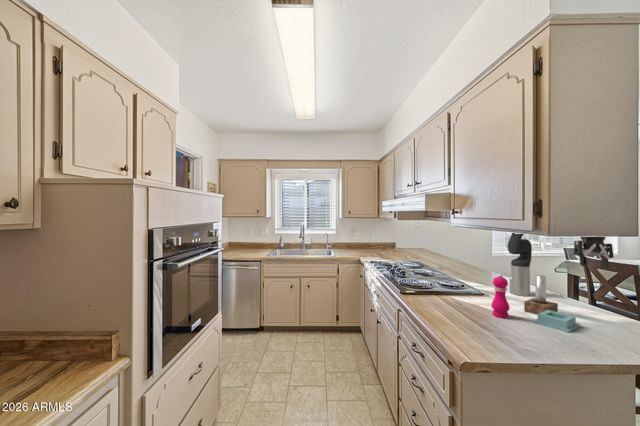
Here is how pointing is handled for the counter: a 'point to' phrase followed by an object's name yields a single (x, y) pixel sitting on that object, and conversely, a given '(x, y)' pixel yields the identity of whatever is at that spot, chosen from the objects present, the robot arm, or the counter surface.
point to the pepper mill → (500, 297)
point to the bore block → (539, 306)
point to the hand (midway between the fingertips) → (594, 267)
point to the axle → (541, 289)
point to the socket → (557, 321)
